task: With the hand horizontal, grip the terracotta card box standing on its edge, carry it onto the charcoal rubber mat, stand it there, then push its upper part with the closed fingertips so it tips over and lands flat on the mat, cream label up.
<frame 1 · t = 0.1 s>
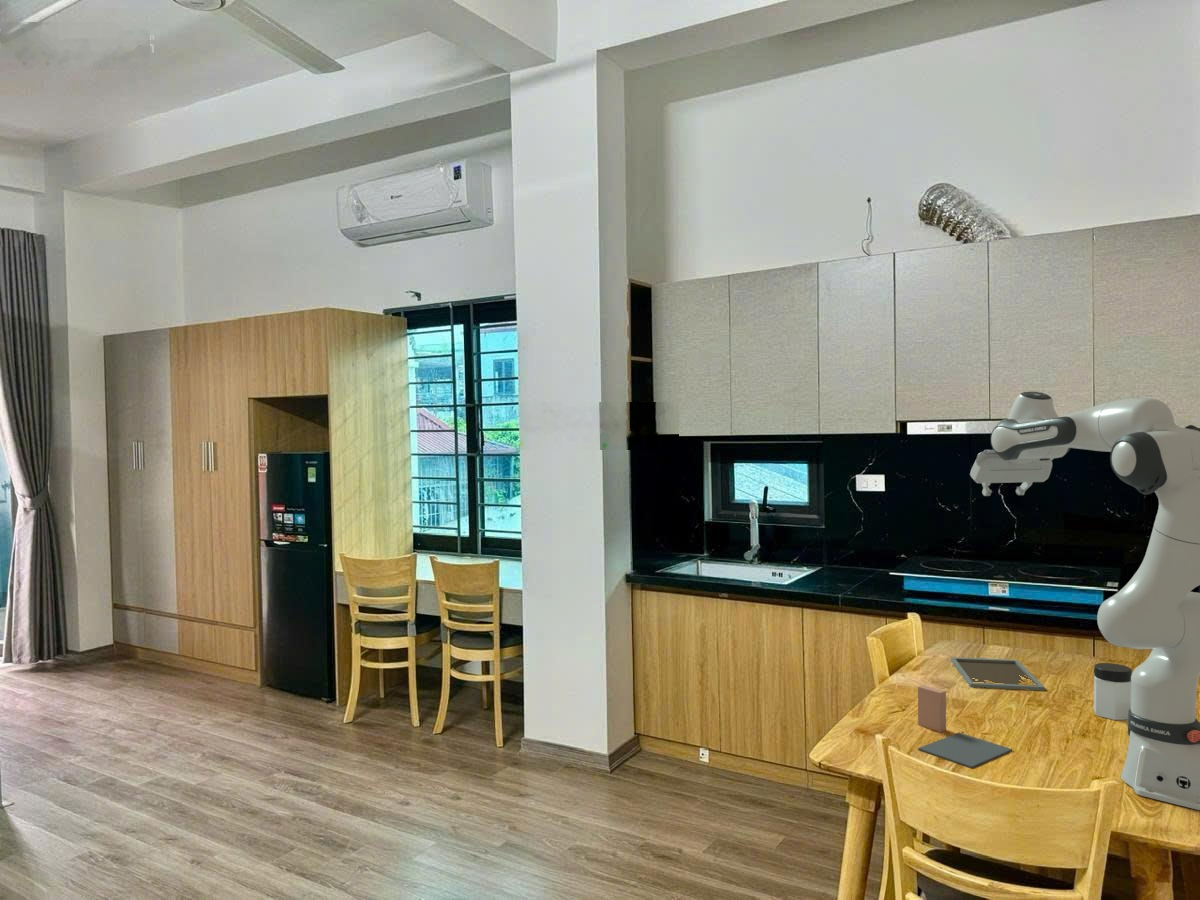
hand: (1002, 494, 228), 54 cm above the table, tool tilted 30°, fingers open, 8 cm apart
mat: (964, 750, 194), on the table
jar: (1112, 715, 215), on the table
grey picture frame: (994, 676, 251), on the table
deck: (931, 727, 209), on the table
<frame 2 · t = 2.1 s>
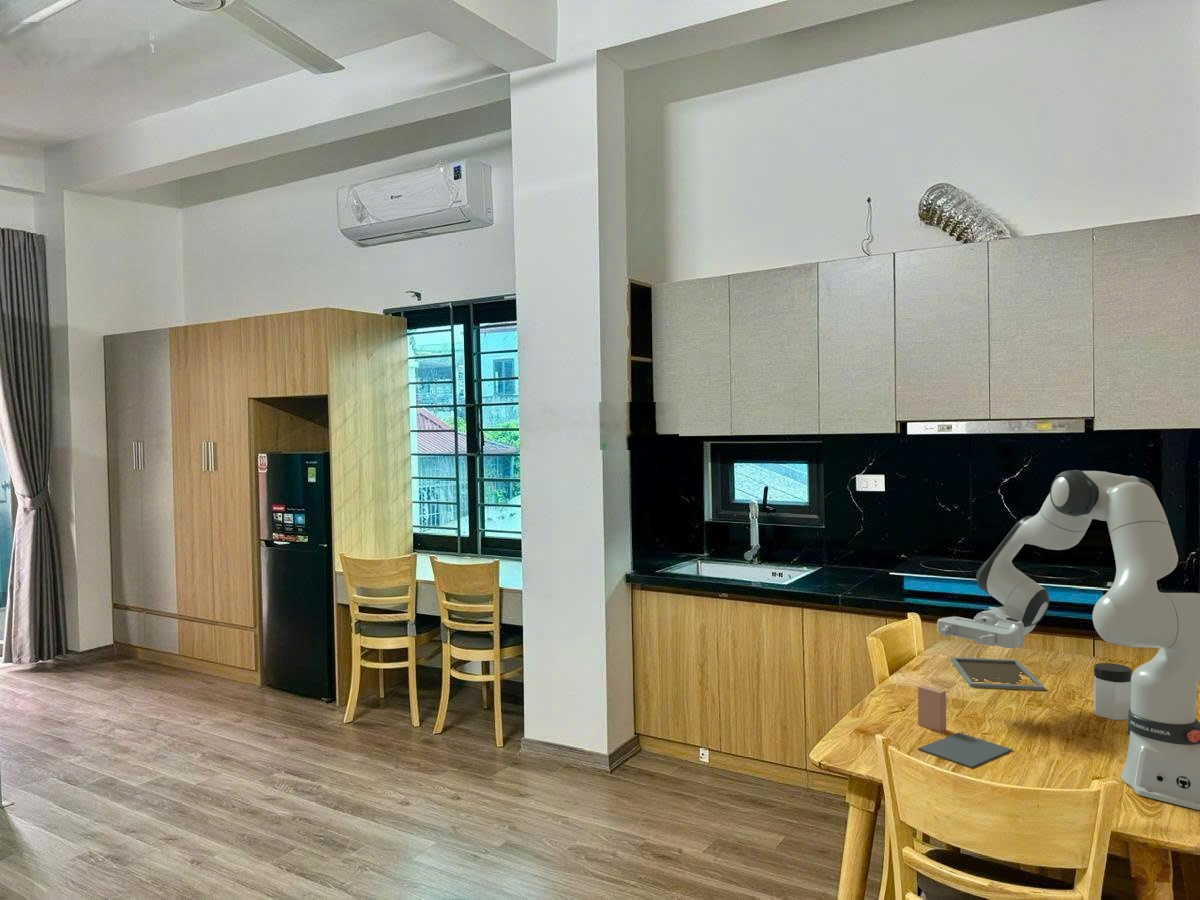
hand: (960, 636, 215), 20 cm above the table, tool horizontal, fingers open, 8 cm apart
nothing on the table moved.
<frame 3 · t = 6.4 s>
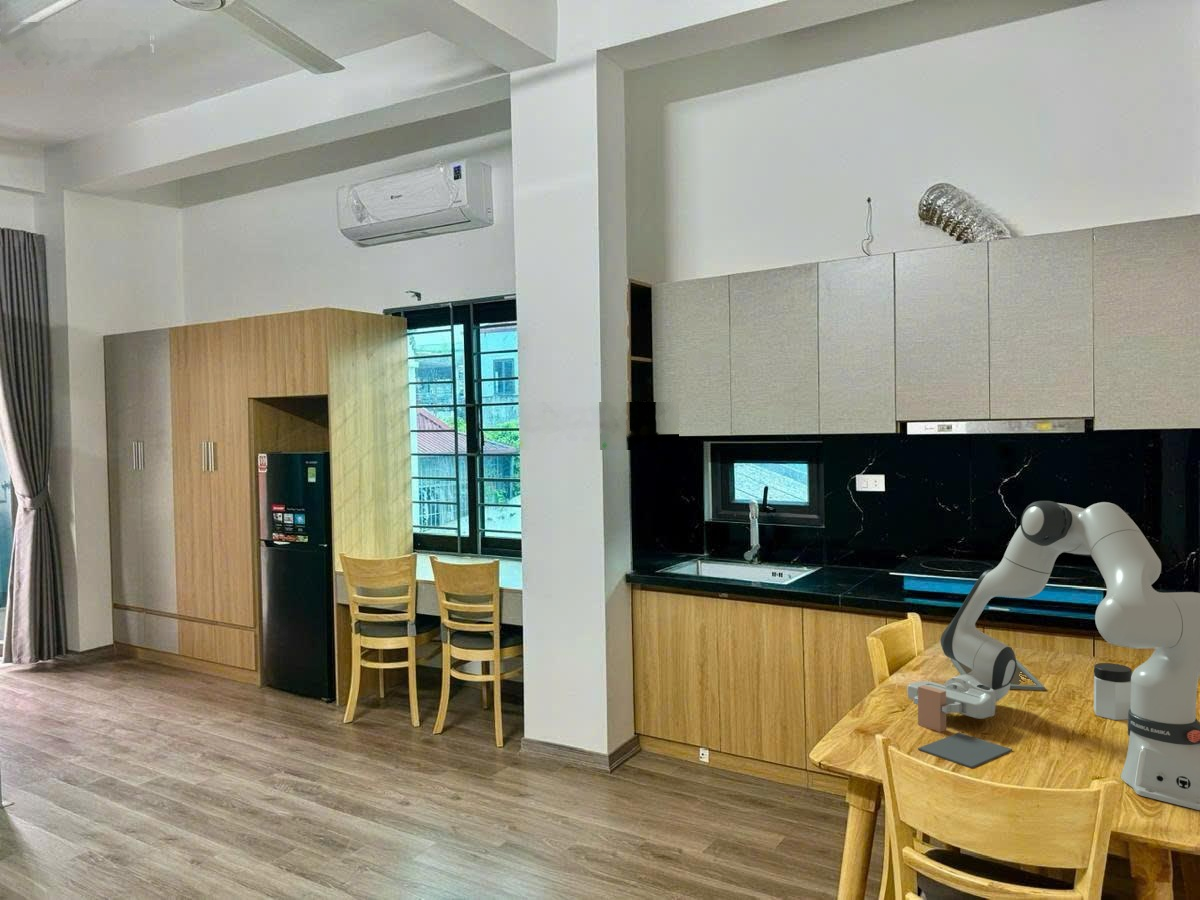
hand: (929, 705, 208), 6 cm above the table, tool horizontal, fingers closed on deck, 6 cm apart
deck: (931, 727, 209), on the table, touching gripper
everything else where it was.
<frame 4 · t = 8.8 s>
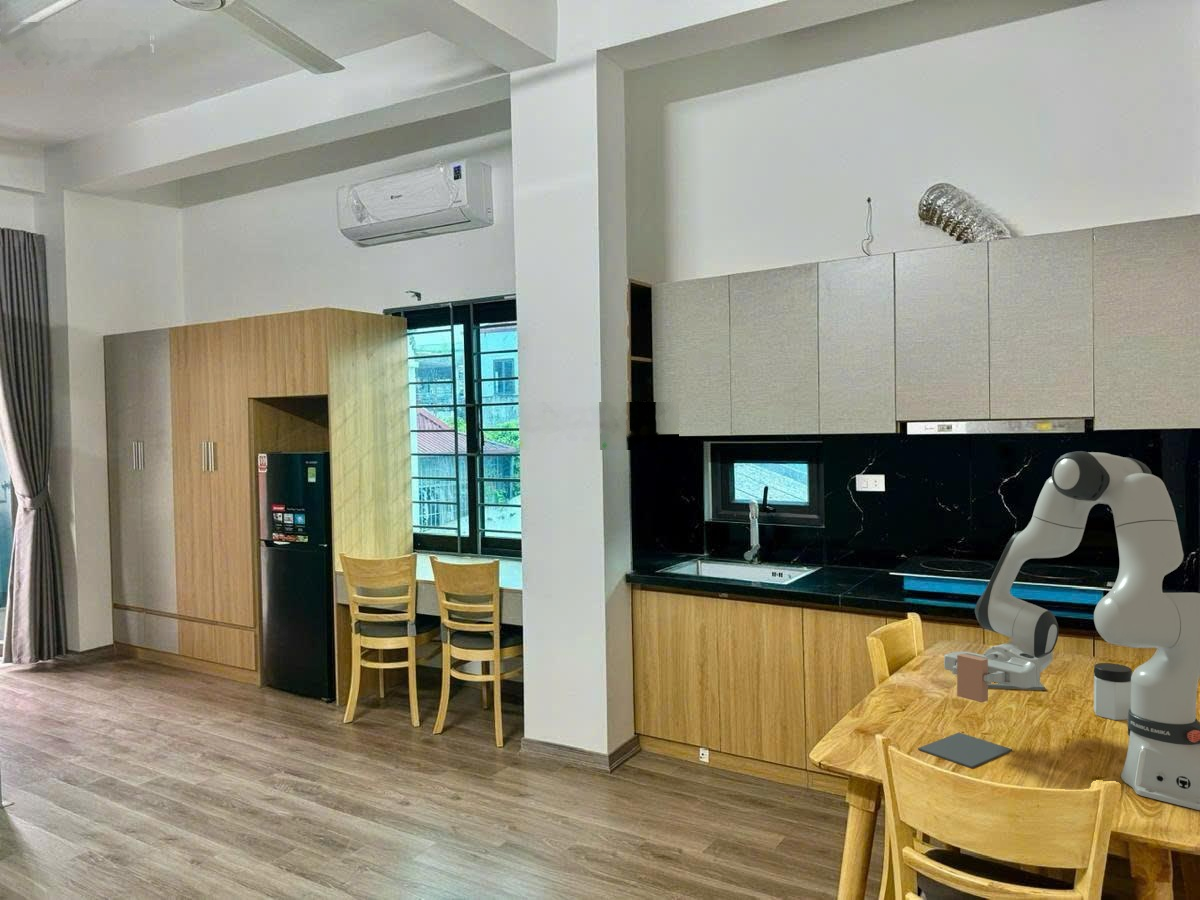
hand: (970, 674, 194), 17 cm above the table, tool horizontal, fingers closed on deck, 6 cm apart
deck: (972, 698, 195), point 11 cm above the table, touching gripper
everything else where it was.
when the fingers open (7 cm above the table, at t = 11.3 s): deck stays where it is, resting on mat.
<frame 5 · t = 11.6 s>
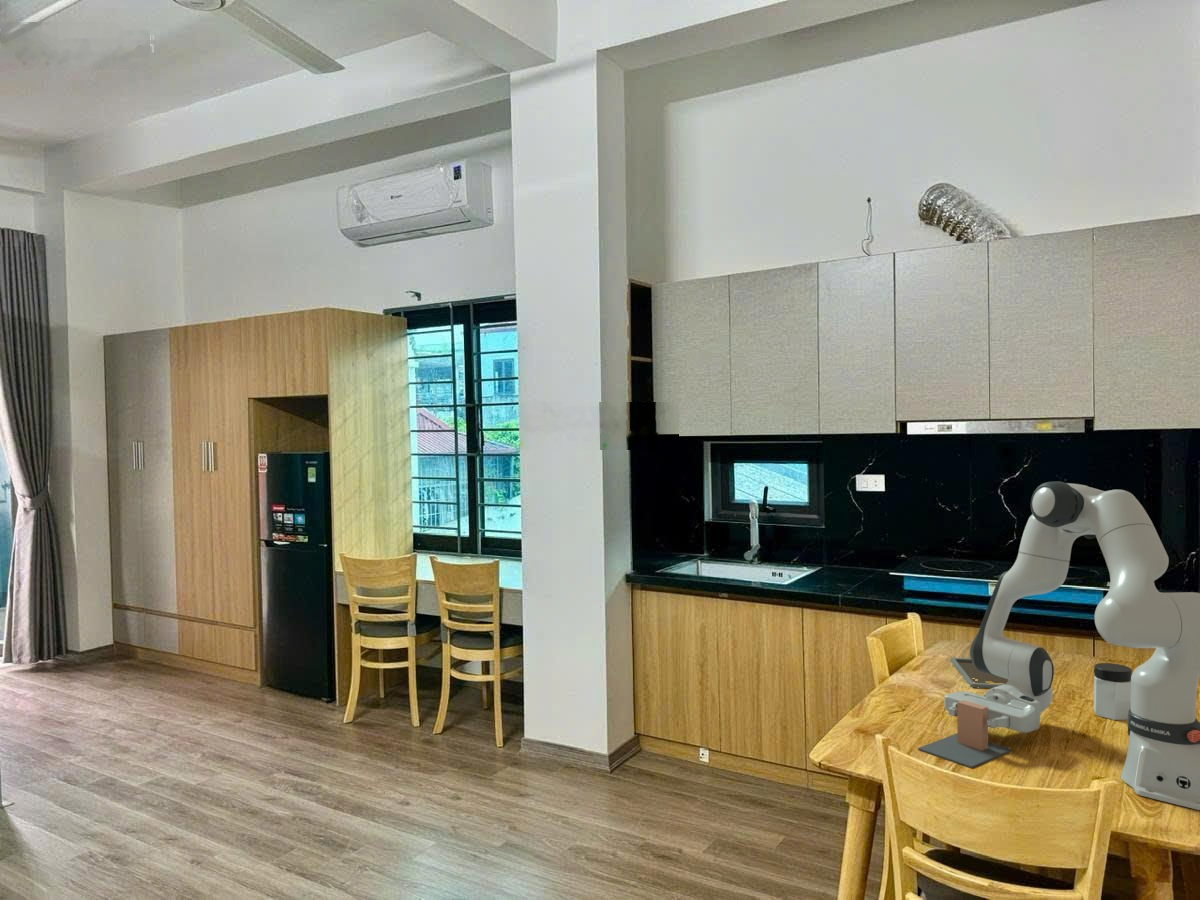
hand: (970, 718, 195), 7 cm above the table, tool horizontal, fingers open, 8 cm apart
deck: (972, 745, 196), resting on mat
everything else where it was.
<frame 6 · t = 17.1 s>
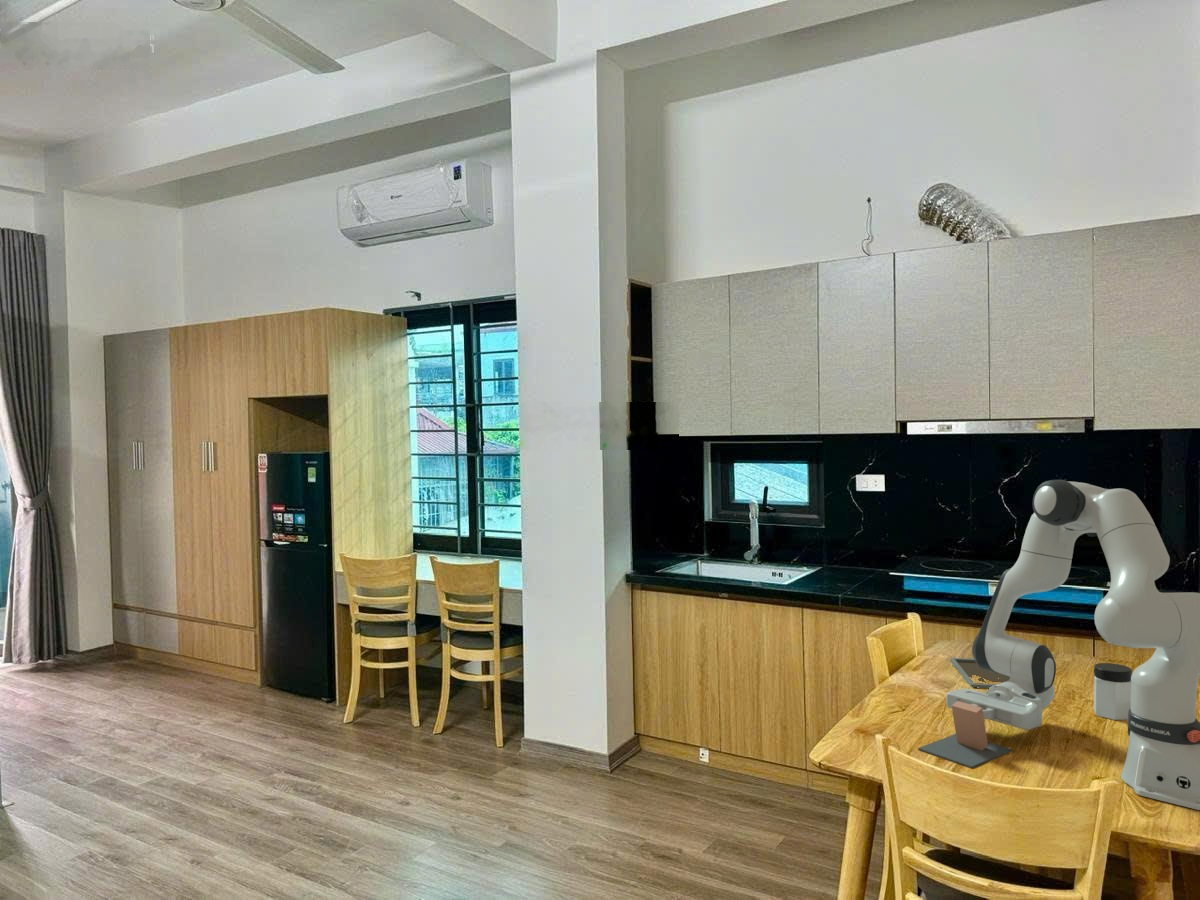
hand: (972, 715, 195), 7 cm above the table, tool horizontal, fingers closed
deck: (972, 744, 196), point 1 cm above the table, tilted 14°, touching mat
everything else where it was.
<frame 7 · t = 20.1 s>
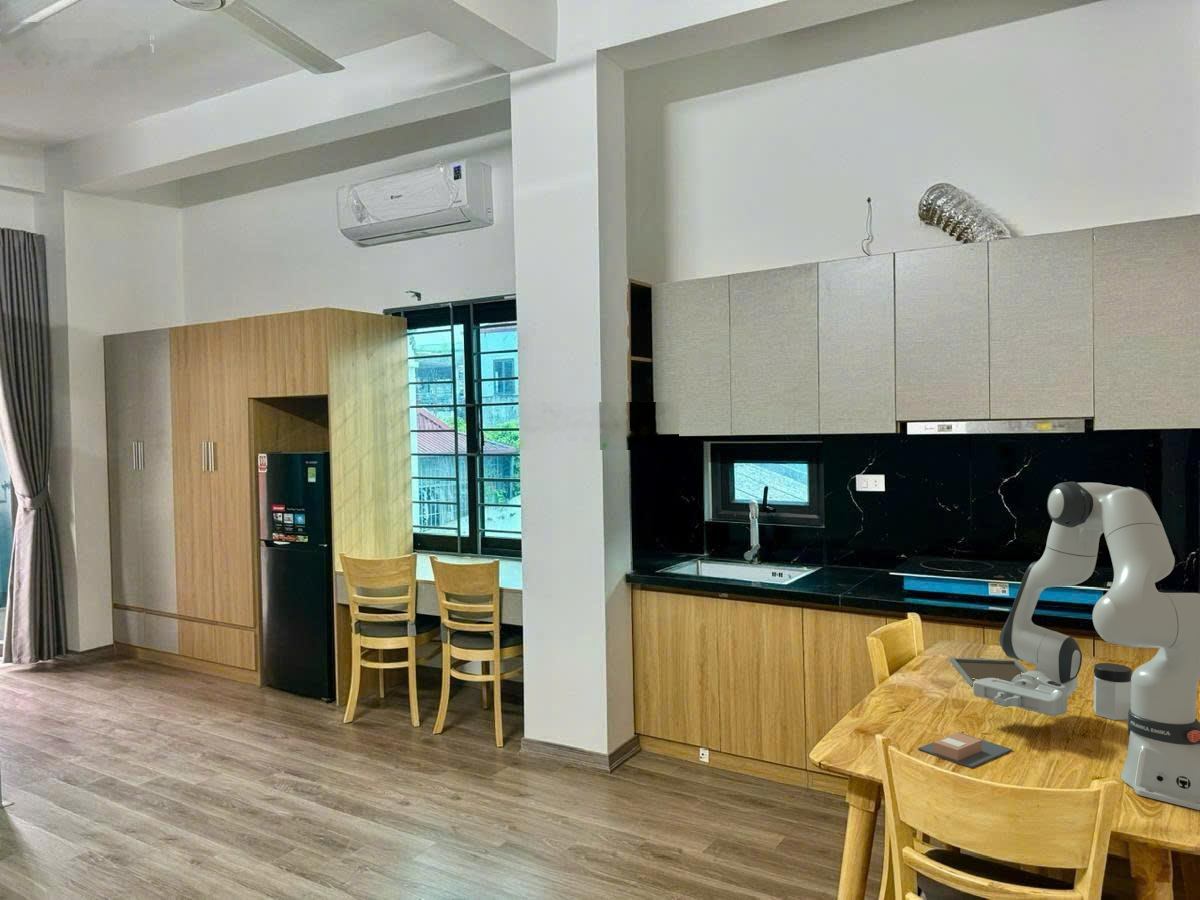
hand: (999, 702, 202), 8 cm above the table, tool horizontal, fingers closed
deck: (969, 741, 195), point 2 cm above the table, tilted 90°, touching mat
everything else where it was.
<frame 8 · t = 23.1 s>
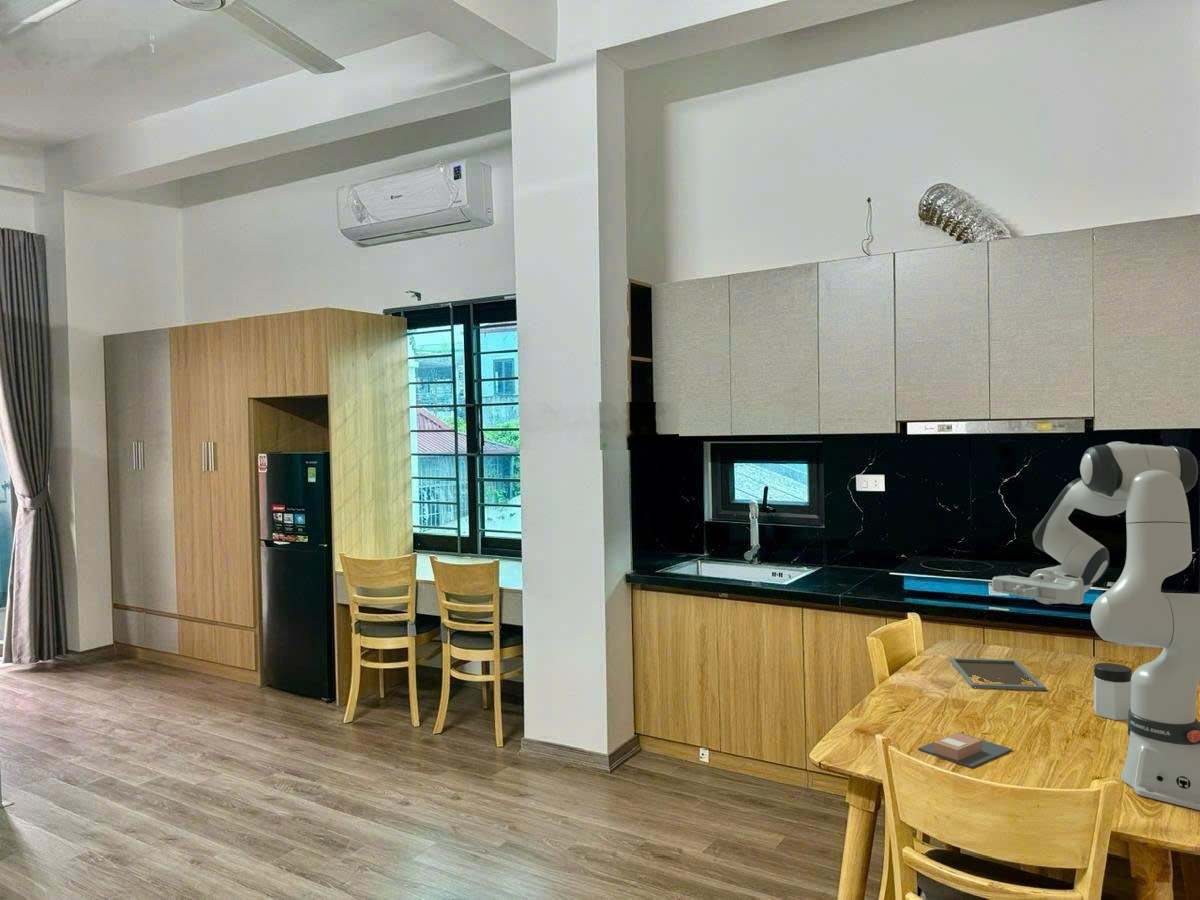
hand: (1018, 592, 209), 32 cm above the table, tool horizontal, fingers closed
nothing on the table moved.
at the end: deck tilted 90°; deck inside the target area (2.2 cm from its centre), point 1.6 cm above the table; the gripper is holding nothing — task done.
